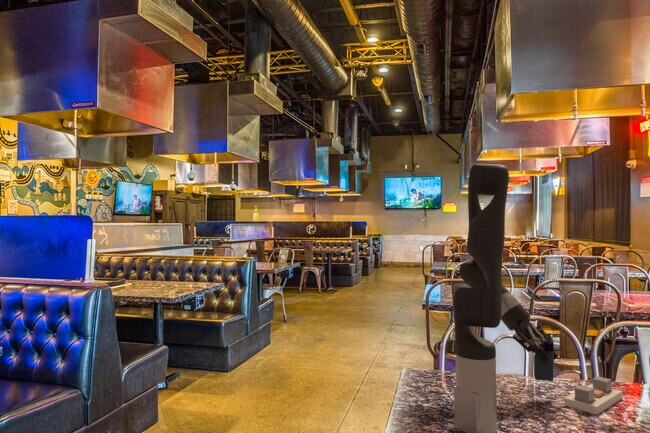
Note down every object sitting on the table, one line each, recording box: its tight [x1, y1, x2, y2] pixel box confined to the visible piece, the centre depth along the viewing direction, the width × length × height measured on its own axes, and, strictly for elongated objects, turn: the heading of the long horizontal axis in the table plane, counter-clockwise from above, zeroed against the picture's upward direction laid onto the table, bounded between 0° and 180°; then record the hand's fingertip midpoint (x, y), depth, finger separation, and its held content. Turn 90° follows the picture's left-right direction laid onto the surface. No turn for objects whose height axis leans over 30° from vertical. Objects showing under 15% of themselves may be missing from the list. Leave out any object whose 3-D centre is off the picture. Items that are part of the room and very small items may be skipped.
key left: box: [574, 384, 595, 402], centre depth 118 cm, size 4×4×3 cm
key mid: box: [594, 389, 603, 399], centre depth 122 cm, size 4×4×3 cm
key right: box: [592, 375, 612, 392], centre depth 126 cm, size 4×4×3 cm
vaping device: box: [533, 336, 555, 382], centre depth 126 cm, size 3×5×12 cm, turn 78°
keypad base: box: [563, 383, 623, 415], centre depth 122 cm, size 18×8×2 cm, turn 129°
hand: (551, 360), depth 124 cm, fingers closed on vaping device, 4 cm apart
